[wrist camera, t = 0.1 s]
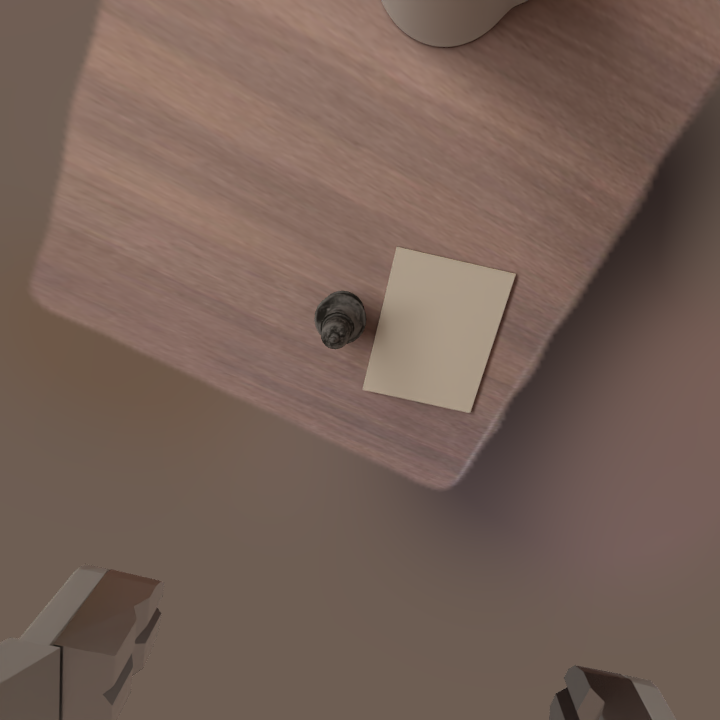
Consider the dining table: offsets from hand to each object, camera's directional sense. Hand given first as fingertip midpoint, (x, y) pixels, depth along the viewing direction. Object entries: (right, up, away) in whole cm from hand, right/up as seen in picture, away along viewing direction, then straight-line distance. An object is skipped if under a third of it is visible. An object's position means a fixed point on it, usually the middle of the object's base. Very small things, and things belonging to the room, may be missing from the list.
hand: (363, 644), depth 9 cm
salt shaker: (-2, +11, +47) cm, 49 cm away
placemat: (+9, +9, +47) cm, 49 cm away
